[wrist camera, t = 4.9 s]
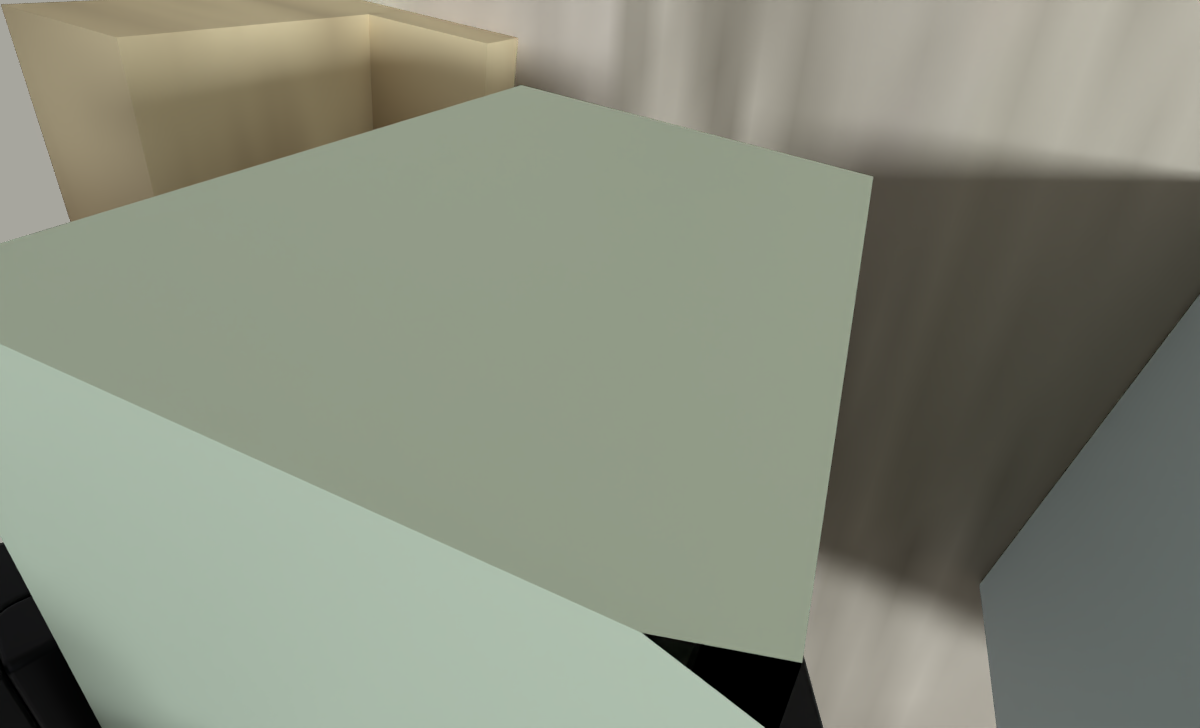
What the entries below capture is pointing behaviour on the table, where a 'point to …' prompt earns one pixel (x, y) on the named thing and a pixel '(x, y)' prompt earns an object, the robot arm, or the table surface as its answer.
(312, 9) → the bookend
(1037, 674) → the book row
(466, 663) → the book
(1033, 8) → the table surface
